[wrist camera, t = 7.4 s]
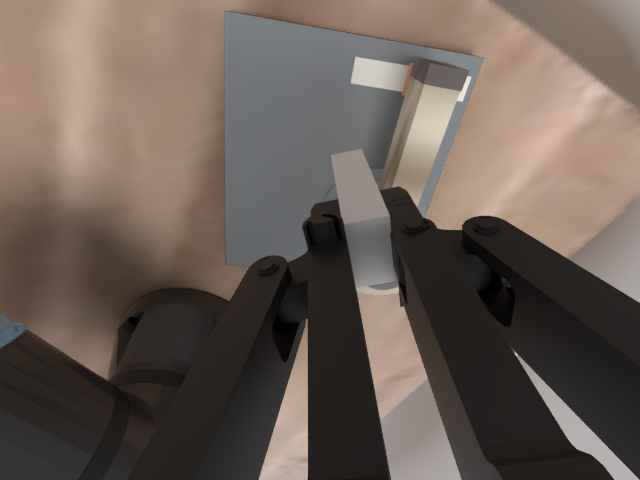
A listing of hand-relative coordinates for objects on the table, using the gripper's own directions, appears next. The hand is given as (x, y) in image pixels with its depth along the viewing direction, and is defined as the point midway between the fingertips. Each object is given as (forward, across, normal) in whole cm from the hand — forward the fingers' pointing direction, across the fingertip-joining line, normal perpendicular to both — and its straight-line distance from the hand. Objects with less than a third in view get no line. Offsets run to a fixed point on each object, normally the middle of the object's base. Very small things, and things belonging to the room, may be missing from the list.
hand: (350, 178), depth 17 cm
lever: (+9, -3, +4) cm, 11 cm away
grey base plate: (+12, +1, +4) cm, 12 cm away
